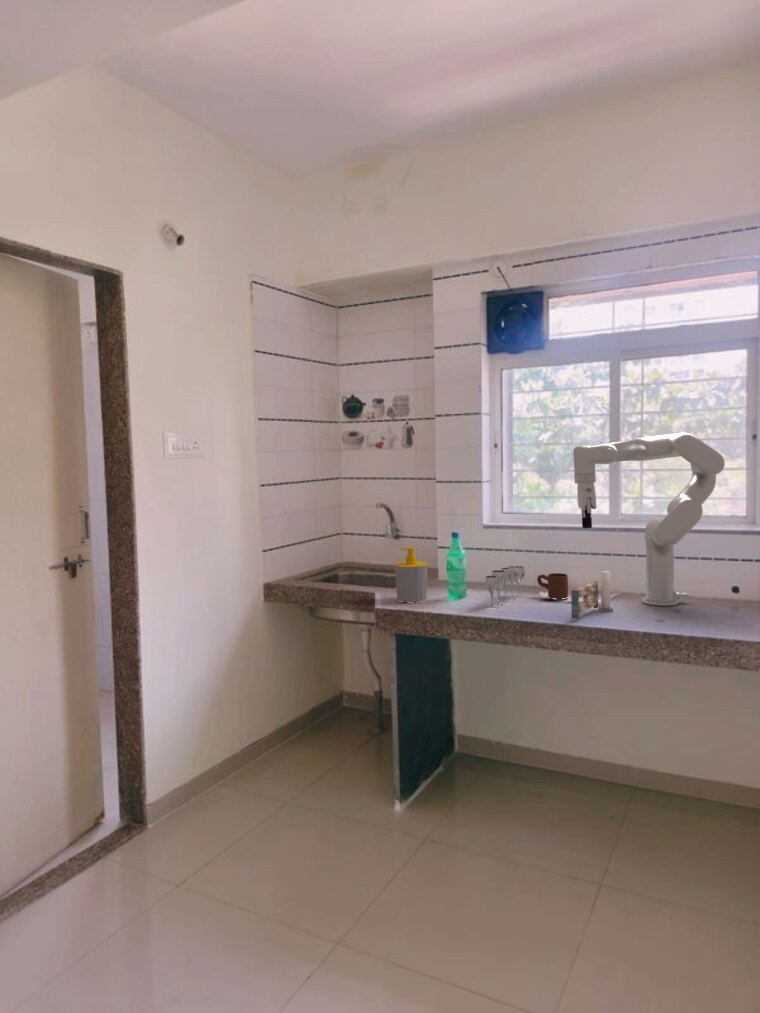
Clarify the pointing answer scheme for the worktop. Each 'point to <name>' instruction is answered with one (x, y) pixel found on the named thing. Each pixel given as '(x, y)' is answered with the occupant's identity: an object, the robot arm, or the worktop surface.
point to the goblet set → (504, 581)
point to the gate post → (605, 592)
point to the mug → (555, 585)
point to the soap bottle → (411, 578)
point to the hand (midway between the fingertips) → (587, 527)
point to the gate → (584, 598)
